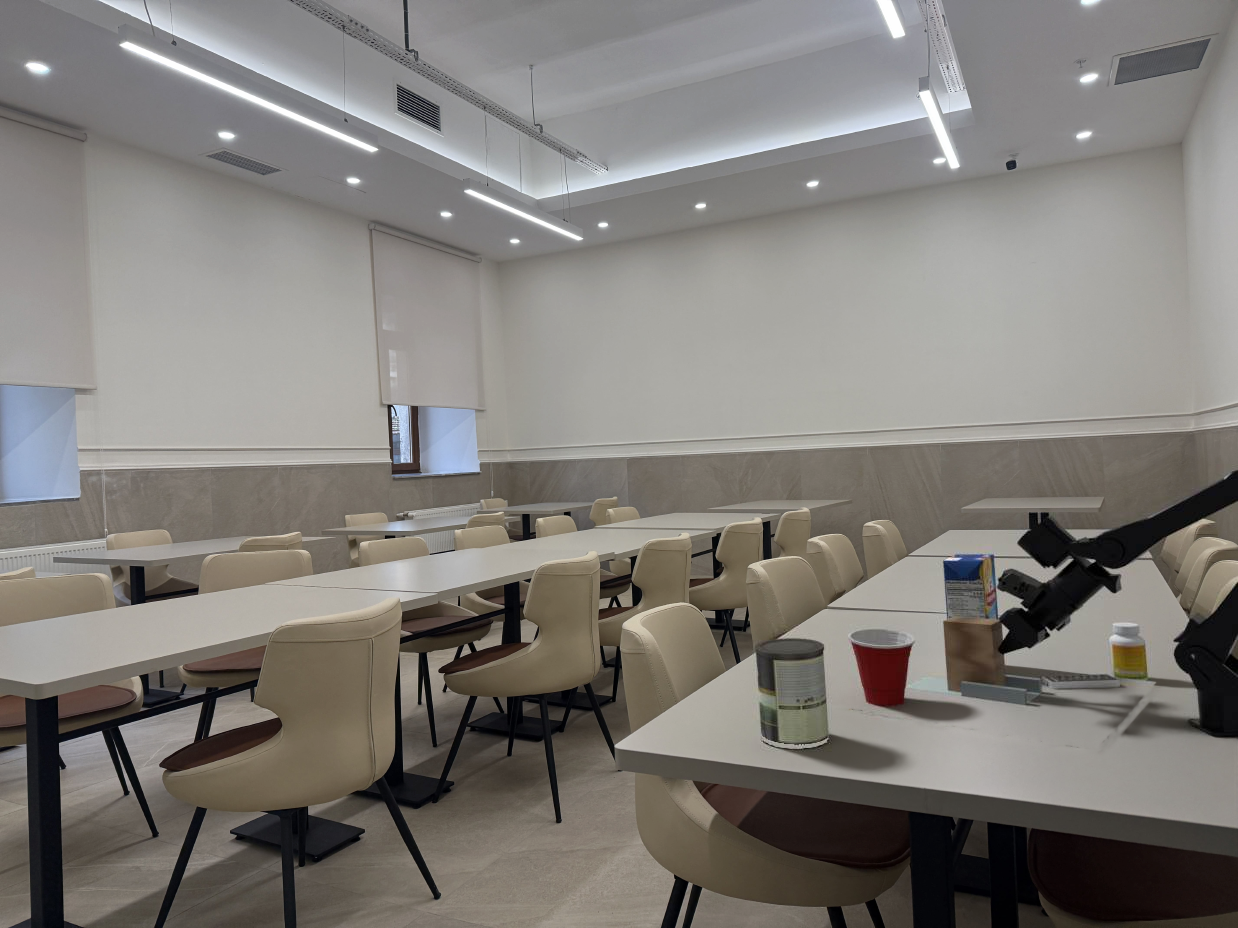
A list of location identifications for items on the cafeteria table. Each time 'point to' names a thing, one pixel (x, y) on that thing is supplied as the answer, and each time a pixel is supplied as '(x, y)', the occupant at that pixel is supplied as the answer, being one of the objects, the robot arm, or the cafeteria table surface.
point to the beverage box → (970, 586)
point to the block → (973, 652)
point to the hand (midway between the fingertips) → (1000, 651)
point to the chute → (987, 689)
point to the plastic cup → (882, 663)
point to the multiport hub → (1080, 681)
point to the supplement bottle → (1128, 652)
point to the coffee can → (792, 690)
